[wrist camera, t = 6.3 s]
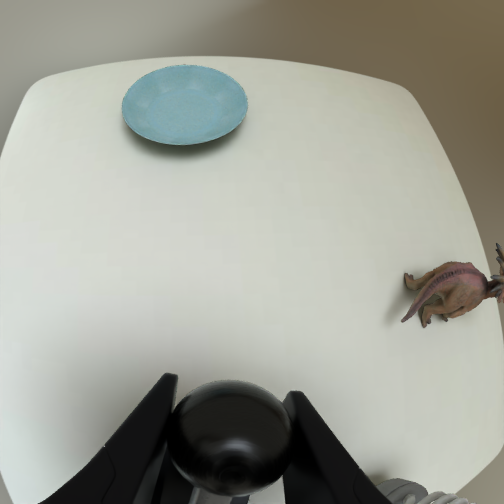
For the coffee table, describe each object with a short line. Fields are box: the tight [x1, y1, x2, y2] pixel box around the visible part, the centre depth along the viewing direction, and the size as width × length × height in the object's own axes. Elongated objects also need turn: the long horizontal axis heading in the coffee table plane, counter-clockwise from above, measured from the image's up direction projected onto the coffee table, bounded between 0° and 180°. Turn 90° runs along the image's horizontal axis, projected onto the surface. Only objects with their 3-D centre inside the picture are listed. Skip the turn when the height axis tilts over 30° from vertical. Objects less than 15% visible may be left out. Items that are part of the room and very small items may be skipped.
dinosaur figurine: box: [401, 243, 504, 328], centre depth 21 cm, size 14×6×9 cm, turn 93°
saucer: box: [122, 65, 248, 145], centre depth 25 cm, size 12×12×2 cm
